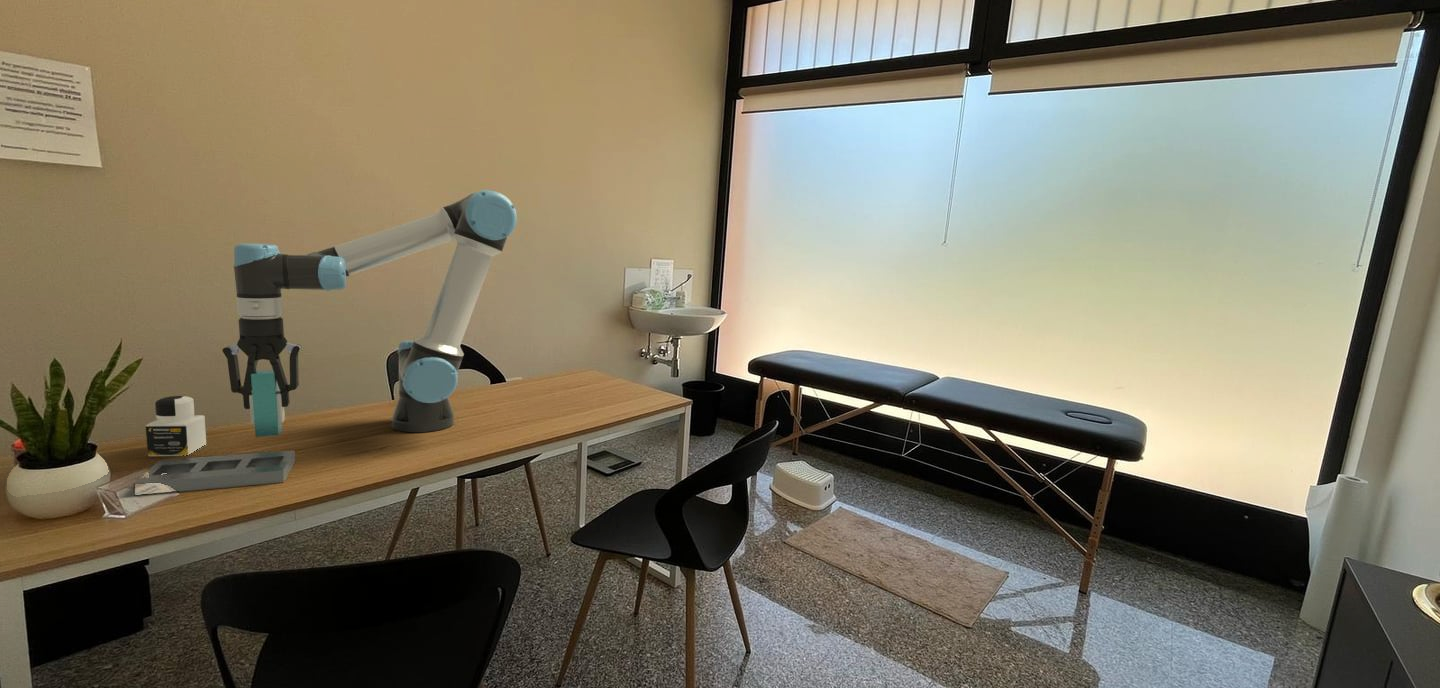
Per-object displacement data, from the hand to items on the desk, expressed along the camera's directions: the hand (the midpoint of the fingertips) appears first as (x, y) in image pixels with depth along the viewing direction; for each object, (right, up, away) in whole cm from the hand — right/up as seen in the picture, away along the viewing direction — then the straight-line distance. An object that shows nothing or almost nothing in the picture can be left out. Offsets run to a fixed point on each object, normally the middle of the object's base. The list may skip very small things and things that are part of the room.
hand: (268, 421), depth 128 cm
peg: (0, -3, 0) cm, 3 cm away
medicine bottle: (-19, -7, -1) cm, 20 cm away
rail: (0, -10, -12) cm, 15 cm away
